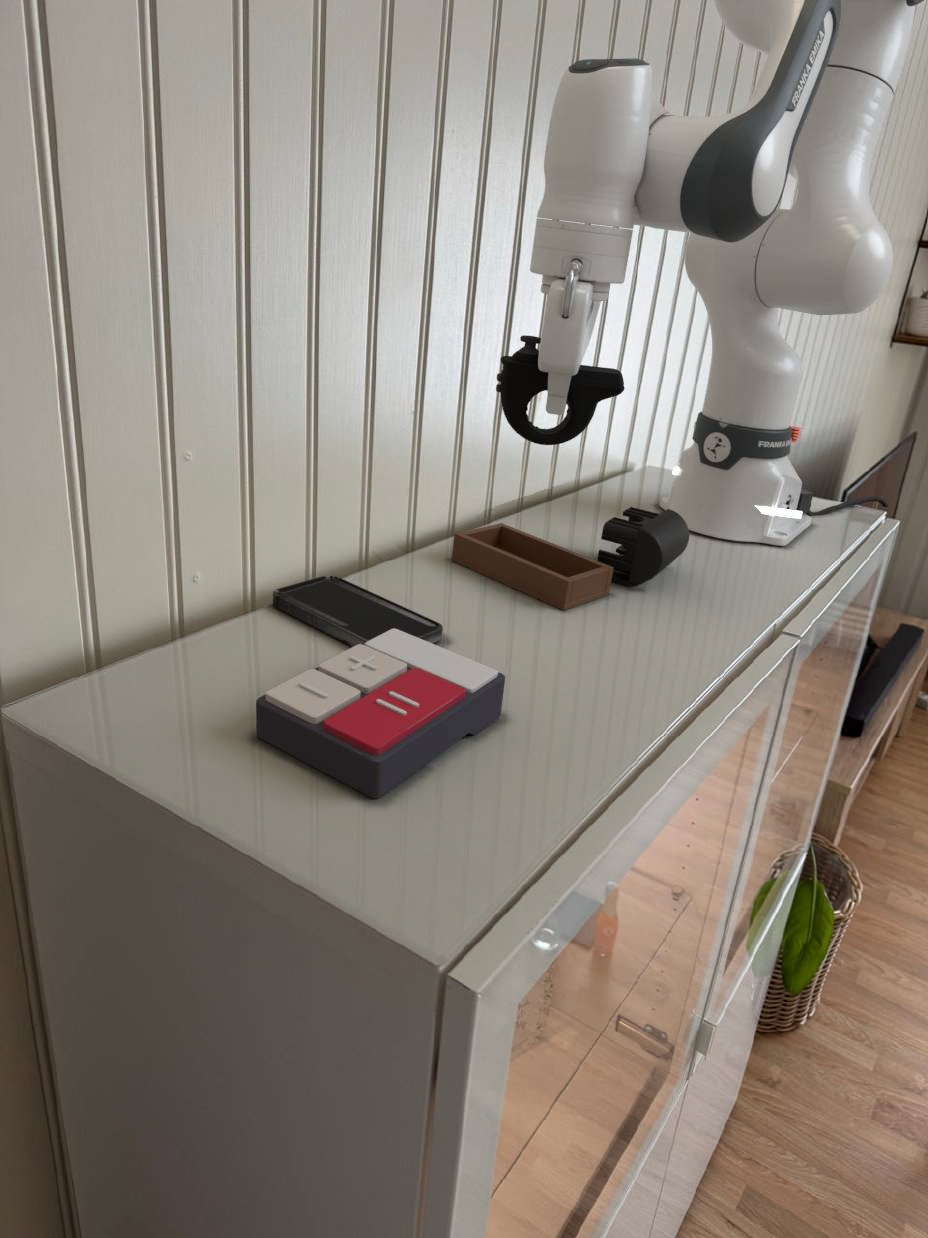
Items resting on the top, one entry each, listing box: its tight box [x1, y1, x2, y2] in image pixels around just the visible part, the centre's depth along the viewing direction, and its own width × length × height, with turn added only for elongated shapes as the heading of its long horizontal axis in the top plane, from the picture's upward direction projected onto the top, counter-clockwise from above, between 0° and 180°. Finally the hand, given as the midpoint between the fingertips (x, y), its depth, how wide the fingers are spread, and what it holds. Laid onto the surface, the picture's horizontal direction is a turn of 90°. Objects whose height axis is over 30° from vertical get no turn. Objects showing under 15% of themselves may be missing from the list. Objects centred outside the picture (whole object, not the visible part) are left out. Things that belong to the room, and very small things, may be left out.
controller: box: [495, 334, 626, 446], centre depth 91 cm, size 4×12×10 cm, turn 91°
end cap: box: [596, 506, 690, 588], centre depth 102 cm, size 10×7×7 cm
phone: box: [272, 575, 444, 647], centre depth 83 cm, size 8×1×15 cm
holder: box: [451, 522, 614, 611], centre depth 98 cm, size 8×16×3 cm, turn 46°
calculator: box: [255, 629, 506, 799], centre depth 66 cm, size 11×4×15 cm
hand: (557, 408), depth 91 cm, fingers closed on controller, 4 cm apart
